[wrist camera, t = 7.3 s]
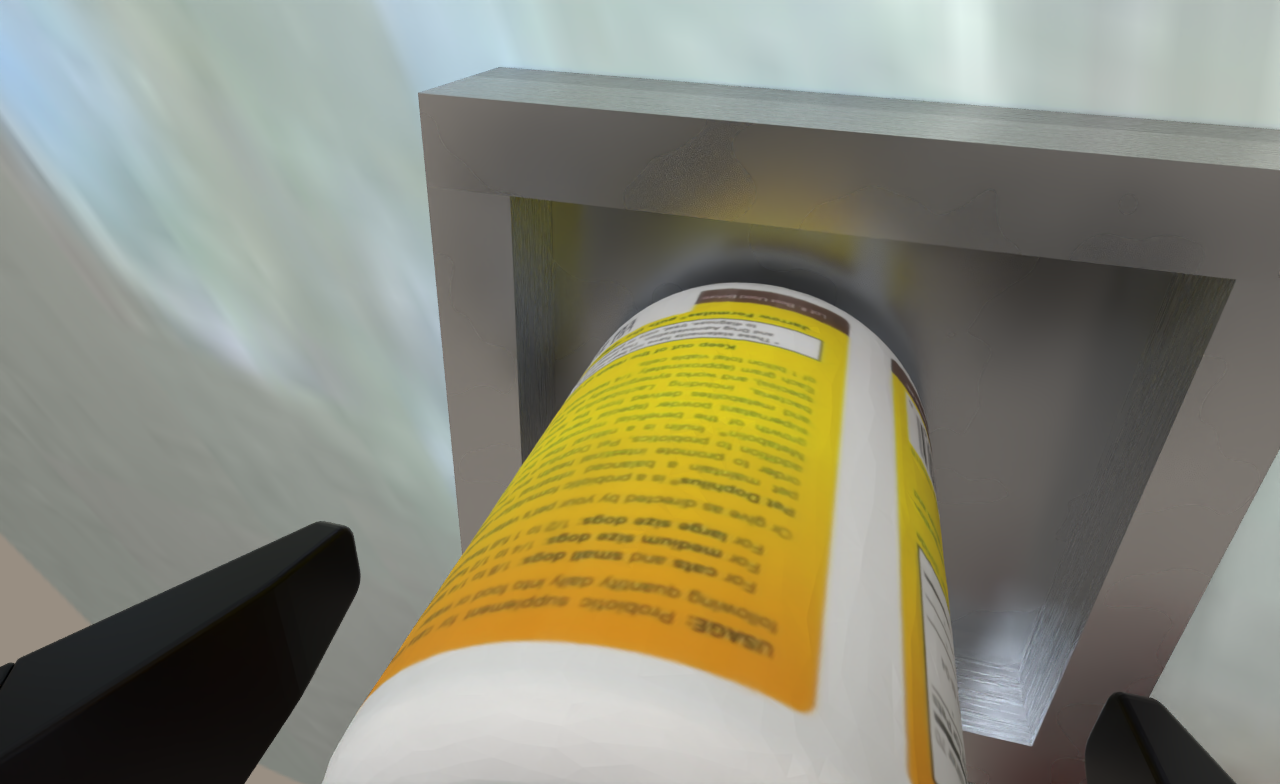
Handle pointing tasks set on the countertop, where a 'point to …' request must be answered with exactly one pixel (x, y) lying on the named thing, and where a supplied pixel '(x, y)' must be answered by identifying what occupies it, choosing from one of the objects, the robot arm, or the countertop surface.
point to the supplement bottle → (695, 576)
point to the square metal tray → (909, 332)
